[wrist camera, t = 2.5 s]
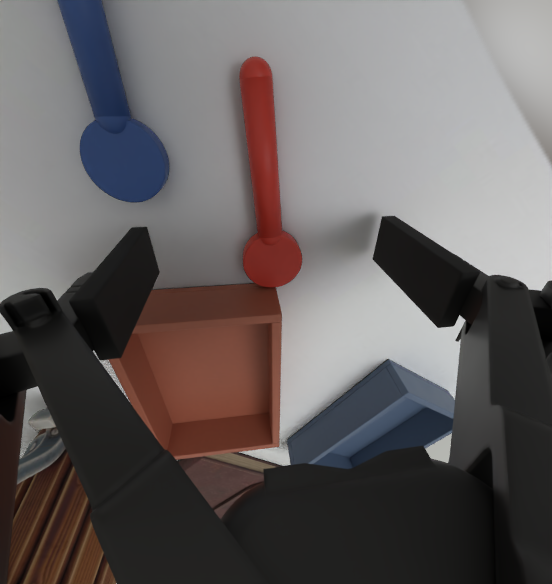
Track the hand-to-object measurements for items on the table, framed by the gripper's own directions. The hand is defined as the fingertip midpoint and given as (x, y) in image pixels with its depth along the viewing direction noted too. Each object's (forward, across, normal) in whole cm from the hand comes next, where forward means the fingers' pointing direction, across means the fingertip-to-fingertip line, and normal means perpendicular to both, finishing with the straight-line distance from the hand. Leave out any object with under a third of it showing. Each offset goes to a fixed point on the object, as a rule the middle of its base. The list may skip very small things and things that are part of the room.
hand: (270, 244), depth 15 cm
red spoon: (+1, 0, +2) cm, 3 cm away
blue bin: (+1, +10, -22) cm, 24 cm away
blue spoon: (+1, -7, +8) cm, 11 cm away
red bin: (+1, -5, -11) cm, 12 cm away
